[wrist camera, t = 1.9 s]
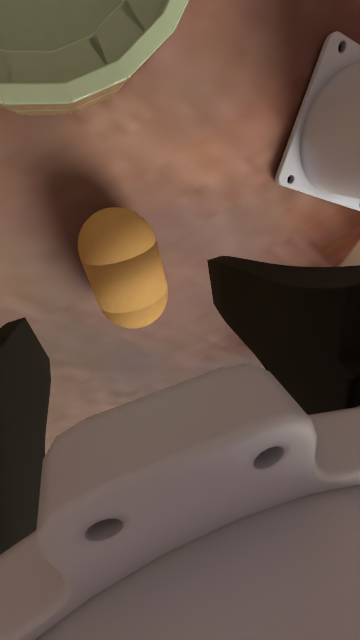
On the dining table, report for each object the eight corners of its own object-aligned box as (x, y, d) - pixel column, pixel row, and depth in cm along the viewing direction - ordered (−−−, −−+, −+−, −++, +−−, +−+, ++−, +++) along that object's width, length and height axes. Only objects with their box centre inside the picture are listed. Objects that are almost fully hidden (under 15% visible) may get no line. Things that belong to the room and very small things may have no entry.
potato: (65, 212, 17) (63, 230, 14) (137, 192, 18) (154, 205, 14) (106, 316, 21) (114, 351, 18) (164, 297, 22) (182, 327, 18)
